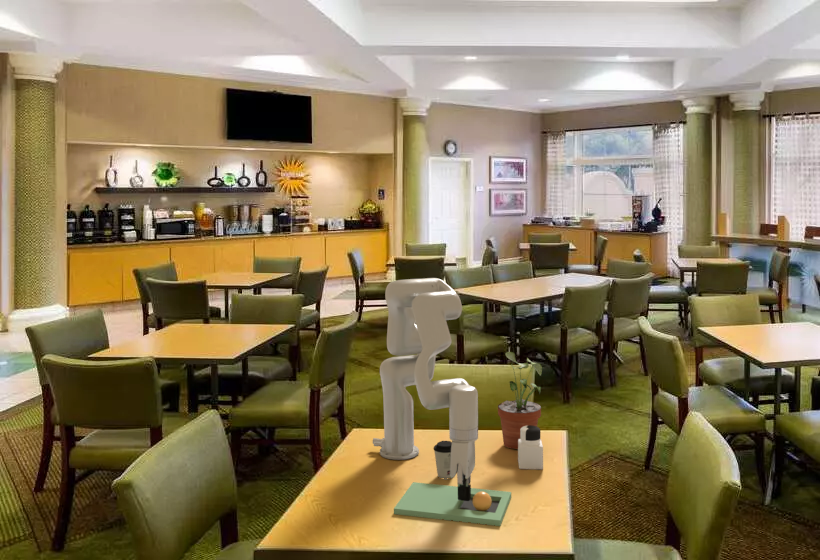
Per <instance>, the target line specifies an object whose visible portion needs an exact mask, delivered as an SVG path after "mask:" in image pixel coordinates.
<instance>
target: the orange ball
mask: <svg viewBox="0 0 820 560" xmlns="http://www.w3.org/2000/svg"><path fill="white" fill-rule="evenodd" d="M491 504H492V500H491V497H490V495H489V494H488V493H486V492H482V491H481V492H478V493H476V494H475V495H474V497H473V506H474V507H475V509H477V510H478V511H486V510H488V509H489V508H490V507H491Z"/></svg>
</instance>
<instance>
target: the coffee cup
mask: <svg viewBox="0 0 820 560" xmlns="http://www.w3.org/2000/svg"><path fill="white" fill-rule="evenodd" d="M451 446H452V440H441V441H439V442H437V444H435V445H434V446H433V452H434V456H435V457H434V458H435V466H436V473H437V478H438V477H440V478H444V479H443V480H448V479H447V478H451V477H450V464H451ZM440 478H439V479H440ZM451 479H452V478H451Z"/></svg>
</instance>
